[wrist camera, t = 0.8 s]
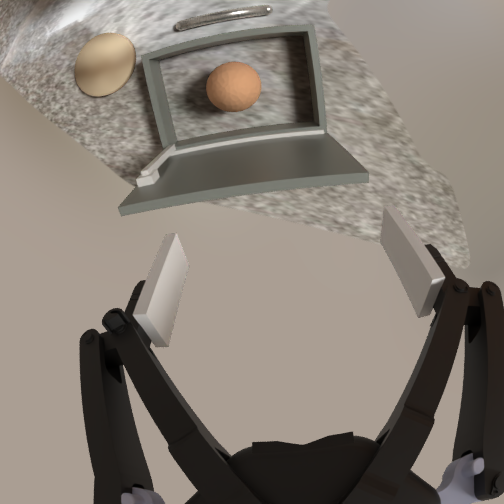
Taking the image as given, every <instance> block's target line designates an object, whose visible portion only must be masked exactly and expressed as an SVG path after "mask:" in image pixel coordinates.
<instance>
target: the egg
mask: <svg viewBox="0 0 504 504" xmlns="http://www.w3.org/2000/svg"><path fill="white" fill-rule="evenodd" d="M206 91H207V95H208V97H209V99H210V101H211V102H212V103H213V104H214V105H215V106H216V107H218V108H219V109H221V110H224V111H227V112H238V111H243V110H245V109H247V108H249V107H250V106H252V105H253V104H254V103H255V102H256V101H257V99H258V97H259V95H260V92H261V81H260V78H259V76H258V74H257V72H256V71H255V70H254V69H253V68H252V67H250V66H249V65H247V64H244V63H241V62H228V63H225V64H222V65H220V66H218V67H217V68H216V69H215V70H214V71H213V72H212V73H211V74H210V76H209V77H208V80H207V85H206Z"/></svg>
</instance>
